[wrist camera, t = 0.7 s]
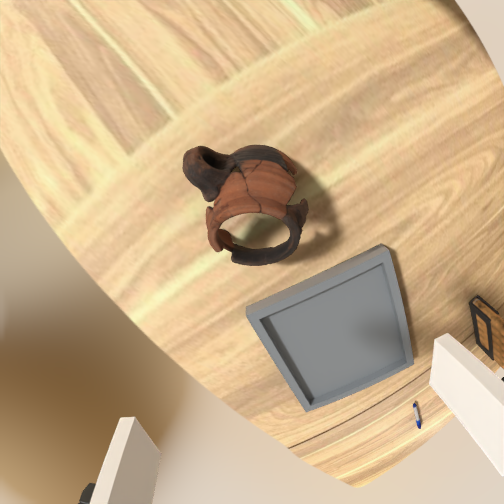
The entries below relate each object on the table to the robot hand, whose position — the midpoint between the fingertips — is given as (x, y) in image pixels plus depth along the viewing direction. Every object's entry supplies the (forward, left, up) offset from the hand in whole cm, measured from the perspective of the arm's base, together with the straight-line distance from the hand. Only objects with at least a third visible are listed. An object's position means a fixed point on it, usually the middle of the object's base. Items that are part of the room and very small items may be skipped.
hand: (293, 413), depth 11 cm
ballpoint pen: (-11, +41, -21) cm, 47 cm away
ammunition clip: (-24, +25, -20) cm, 40 cm away
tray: (-3, +14, -20) cm, 25 cm away
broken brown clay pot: (-1, -6, -20) cm, 21 cm away
